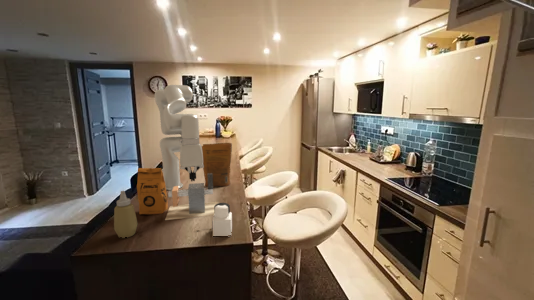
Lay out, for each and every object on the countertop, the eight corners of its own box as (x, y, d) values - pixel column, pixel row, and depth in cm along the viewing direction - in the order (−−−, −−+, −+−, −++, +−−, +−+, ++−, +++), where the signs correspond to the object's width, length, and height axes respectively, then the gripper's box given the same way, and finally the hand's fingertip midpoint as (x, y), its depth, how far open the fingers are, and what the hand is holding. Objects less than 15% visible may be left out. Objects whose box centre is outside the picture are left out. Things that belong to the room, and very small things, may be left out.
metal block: (190, 207, 122) (189, 183, 119) (204, 205, 123) (204, 182, 121) (189, 213, 114) (188, 189, 112) (204, 212, 116) (203, 188, 113)
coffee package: (162, 217, 113) (159, 170, 109) (136, 216, 113) (131, 170, 109) (171, 208, 123) (168, 165, 119) (146, 208, 123) (143, 165, 119)
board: (170, 207, 123) (170, 205, 123) (218, 203, 129) (218, 201, 129) (165, 222, 108) (165, 219, 108) (220, 216, 114) (220, 214, 113)
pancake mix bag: (233, 186, 156) (232, 143, 151) (202, 188, 153) (200, 143, 148) (232, 183, 163) (231, 141, 158) (203, 184, 159) (201, 142, 155)
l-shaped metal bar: (169, 195, 115) (167, 175, 114) (213, 192, 120) (212, 173, 118) (168, 197, 113) (167, 177, 111) (213, 193, 118) (212, 174, 116)
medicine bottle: (214, 228, 102) (214, 201, 100) (232, 227, 103) (231, 200, 101) (212, 237, 95) (211, 208, 93) (231, 236, 96) (230, 207, 94)
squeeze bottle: (114, 242, 92) (109, 196, 89) (115, 232, 99) (111, 189, 96) (138, 237, 95) (134, 192, 92) (138, 228, 102) (134, 186, 99)
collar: (174, 200, 119) (173, 186, 118) (179, 200, 119) (178, 186, 118) (172, 206, 112) (171, 191, 111) (177, 206, 112) (176, 191, 111)
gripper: (172, 143, 107) (175, 184, 110) (207, 142, 111) (209, 181, 114) (174, 141, 114) (177, 179, 117) (207, 140, 118) (209, 177, 121)
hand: (193, 180), depth 115 cm, fingers closed
